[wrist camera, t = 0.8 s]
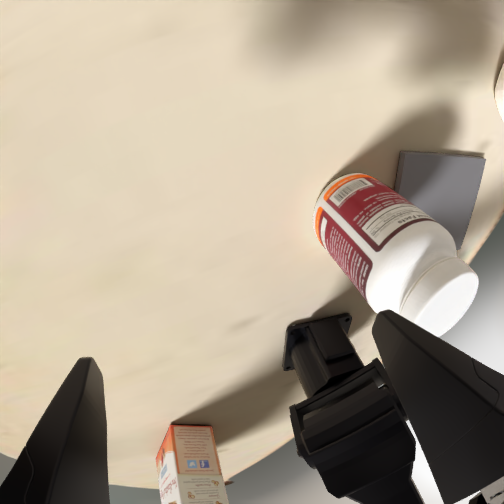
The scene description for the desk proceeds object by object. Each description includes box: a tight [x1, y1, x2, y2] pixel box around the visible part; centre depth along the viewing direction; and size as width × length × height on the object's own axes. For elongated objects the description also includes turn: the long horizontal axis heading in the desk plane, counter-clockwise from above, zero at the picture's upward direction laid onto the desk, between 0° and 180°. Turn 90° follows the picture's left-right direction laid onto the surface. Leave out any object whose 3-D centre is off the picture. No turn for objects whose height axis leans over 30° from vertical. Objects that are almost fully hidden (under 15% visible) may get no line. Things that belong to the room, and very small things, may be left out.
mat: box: [394, 151, 486, 250], centre depth 24 cm, size 10×11×1 cm
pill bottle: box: [313, 173, 479, 337], centre depth 17 cm, size 6×6×11 cm
